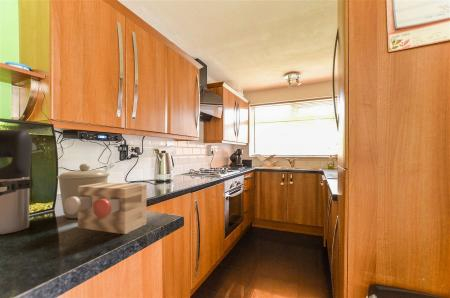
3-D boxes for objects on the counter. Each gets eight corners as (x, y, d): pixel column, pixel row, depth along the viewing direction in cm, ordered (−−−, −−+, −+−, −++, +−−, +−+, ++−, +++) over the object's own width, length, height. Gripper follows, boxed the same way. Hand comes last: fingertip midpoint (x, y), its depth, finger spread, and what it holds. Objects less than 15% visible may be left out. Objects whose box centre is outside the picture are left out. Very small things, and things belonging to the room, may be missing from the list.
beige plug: (63, 213, 67) (64, 196, 67) (89, 206, 75) (89, 192, 75) (76, 214, 65) (76, 197, 66) (100, 208, 74) (100, 192, 74)
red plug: (93, 216, 63) (93, 199, 63) (116, 209, 72) (116, 193, 72) (106, 218, 62) (106, 200, 62) (128, 210, 70) (128, 194, 70)
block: (77, 227, 73) (77, 186, 73) (102, 219, 82) (102, 182, 82) (125, 234, 67) (125, 188, 67) (146, 223, 76) (146, 184, 76)
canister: (84, 223, 77) (84, 165, 78) (43, 220, 81) (44, 164, 81) (118, 210, 95) (118, 162, 95) (84, 208, 99) (84, 162, 99)
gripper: (-59, 175, 38) (48, 169, 55) (-95, 174, 42) (14, 169, 59) (-60, 218, 38) (47, 199, 54) (-97, 213, 42) (14, 196, 58)
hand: (30, 183), depth 56 cm, fingers closed
